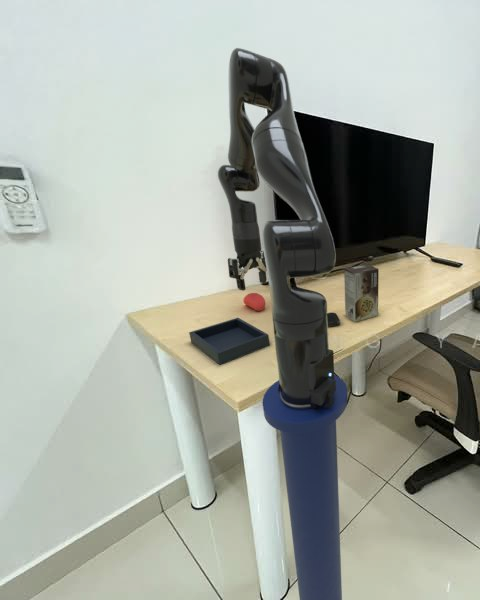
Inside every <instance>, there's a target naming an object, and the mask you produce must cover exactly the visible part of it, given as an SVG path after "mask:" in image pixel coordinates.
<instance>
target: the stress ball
mask: <svg viewBox="0 0 480 600" xmlns="http://www.w3.org/2000/svg"><path fill="white" fill-rule="evenodd" d="M242 302H243V304H244V305H245V306H247V307H250V308H252V309H253V310H255V311H257V312H260V311H263V310H264V308H265V307H266V299H265V298H264V296H263V295H262V294H260V293H257V292H249V293H248V294H246V295H245V296H244V297H243V300H242Z"/></svg>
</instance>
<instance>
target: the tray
mask: <svg viewBox="0 0 480 600" xmlns="http://www.w3.org/2000/svg"><path fill="white" fill-rule="evenodd" d="M188 334H189V338H190V343H191V344H192V345H194V347H196V348H197V349H199V350H200V351H201V352H202V353H204V354H205V355H206V356H208V357H209V358H210V359H211V360H212V361H214V362H215V363H217V364H218V365H219V366H221V365H224V364H226V363H228V362H231V361H233V360H236V359H238V358H241V357H244V356H246V355H249V354H251V353H253V352H256V351H259V350H261V349H263V348H267V347H268V346H269V347H270V346H271V344H270V335H269V334H268V333H267V332H266V331H263V330H261V329H259V328H258V327H256V326H254V325H252V324H250V323H248V322H247V321H245V320H243V319H242V318H240V317H235V318H232V319H229V320H226V321H222V322H219V323H215V324H212V325H209V326H206V327H201V328H199V329H196V330H192V331H189V332H188Z"/></svg>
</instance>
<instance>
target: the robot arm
mask: <svg viewBox="0 0 480 600" xmlns="http://www.w3.org/2000/svg"><path fill="white" fill-rule="evenodd" d="M227 80H228V83H227V84H228V116H229V117H228V118H229V143H228V150H227V161H228V163H229V164H222V165H221V166H220V167H219V168H218V170H217V179H218V182H219V184H220V186H221V189H222V191H223V193H224V195H225V197H226V200H227V203H228V206H229V212H230V213H229V214H230V219H231V220H230V221H231V233H232V239H233V247H234V251H235V253H236V257H235V258H230V257H228V258H227V267H228V276H229V278H230V279H235V281H236V287H237V289H238V290H239V291H242V292H243V291H245V290H246V289H247V288H246V281H245V276H246V274H247V273H248V271H249V270H252V269H257V270H258V280H259V283H261V284H266V283H267V280H268V288H269V296H270V305H271V317H272V325H273V326H272V327H273V335H274V344H275V346H274V347H275V355H276V365H277V371H278V380H279V382H280V384H279V387H278V394H279V392H280V391H281V392H280V396H281V401H282V403H283V404H284V405H285V406H286V407H288V408H291V409H294V410H307V409H313V410H317V409H318V408H319V407H320V406H321V405H322V404H323V403H324V402H325V401H326V400H327V399H329V401H328V402H326V403H325V404H324V407H325V408H328V407H330V406H331V405H332V404H333V403H334V396H333V393H334V392H335V391H336V380H334V375H335V357H334V356H335V355H334V350H333V349H330V348H329V327H328V320H327V313H328V301H327V298H326V297H325V296H324V295H323V294H322V293H320V292H318V291H314V290H312V289H307V288H302V287H300V286H296V285H294V284H292V283H291V280H290V279H295V278H296V279H297V278H307V277H317V276H323V275H327V274H330V273H331V272H332V271H333V270H334V269H335V266H336V262H337V254H336V246H335V241H334V237H333V234H332V231H331V228H330V225H329V223H328V219H327V217H326V215H325V212H324V209H323V207H322V204H321V202H320V198H319V197H318V193H317V191H316V188H315V184H314V180H313V177H312V173H311V169H310V166H309V160H308V156H307V152H306V149H305V146H304V142H303V140H302V139H303V138H302V137H301V133H300V131H299V127H298V123H297V119H296V117H295V116H296V115H295V111H294V106H293V99H292V95H291V94H292V93H291V87H290V82H289V78H288V73H287V71H286V69H285V67H284V66H283V65H282V64H281V63H280V62H279V61H277V60H275V59H272V58H270V57H267V56H264V55H261V54H259V53H256V52H254V51H251V50H248V49H244V48H241V47H236V48H234V49H233V50H232V51H231V53H230V56H229V62H228V79H227ZM245 104H248V105H251V106H255V107H258V108H261V109H267V110H268V111H270V112H269V113H268V114H267V115H266V116H264V117H263V118H262V119H261V120H260V121H259V123H257V125H256V126H255V127H254V125H253V123H252V122H251V120H250V118H249V115H248V114H247V111H246V107H245ZM260 178H261V180H263V182H264V183H265V184H266V185H267V186H268V187H269V188H270V189H271V190H272V191H273V192H274V193H275V194H277V196H279V198H280V199H282V200H283V201H284V202H286V203H287V204H288V205H289V206H290V207H291V208H292V210H293V211H294V212H295V213H296V215H297V216H298V218H299V219H276V220H275V219H274V220H268V221H266V222H265V223H264V225H263V226H262V231H261V233H260V226H259V221H258V215H257V214H258V213H257V206H256V203H255V202H254V201H252V200H249V199H243V198H240V197H239V196H238V195H237V193H239V192H241V193H247V192H248V193H250V192H251V193H252V192H255V191H257V190H258V189H259V187H260ZM236 192H237V193H236Z"/></svg>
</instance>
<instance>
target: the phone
mask: <svg viewBox="0 0 480 600" xmlns="http://www.w3.org/2000/svg"><path fill="white" fill-rule="evenodd" d="M327 320H328V328H329V327H331V328H332V327H337V326H340V325H341V319H340V318H339V316H338V314H337V312H327Z"/></svg>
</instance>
